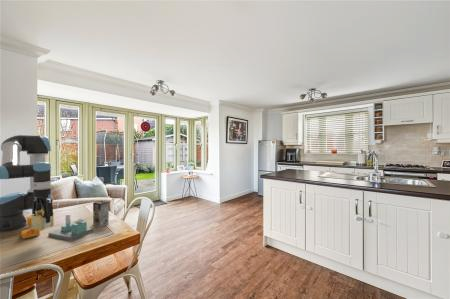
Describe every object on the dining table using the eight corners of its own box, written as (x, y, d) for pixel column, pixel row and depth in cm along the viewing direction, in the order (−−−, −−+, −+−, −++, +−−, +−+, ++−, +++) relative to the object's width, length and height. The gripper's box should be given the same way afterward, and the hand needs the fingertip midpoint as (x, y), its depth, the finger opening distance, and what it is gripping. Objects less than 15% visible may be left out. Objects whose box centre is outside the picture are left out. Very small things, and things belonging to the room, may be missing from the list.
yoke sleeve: (31, 229, 114) (31, 211, 113) (45, 224, 120) (45, 208, 120) (39, 230, 112) (39, 213, 111) (53, 225, 118) (53, 209, 118)
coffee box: (92, 224, 143) (92, 202, 143) (101, 221, 149) (101, 200, 149) (100, 226, 139) (100, 204, 139) (109, 223, 145) (109, 201, 145)
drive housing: (48, 236, 125) (48, 217, 124) (71, 227, 138) (71, 210, 138) (71, 240, 119) (71, 221, 118) (93, 231, 132) (93, 213, 132)
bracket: (21, 235, 126) (21, 216, 126) (36, 231, 132) (36, 213, 131) (23, 240, 119) (23, 220, 119) (39, 236, 125) (39, 217, 125)
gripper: (23, 188, 115) (23, 227, 115) (46, 191, 109) (46, 232, 109) (38, 185, 122) (39, 222, 123) (61, 188, 116) (61, 226, 117)
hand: (42, 226), depth 116 cm, fingers closed on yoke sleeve, 7 cm apart
